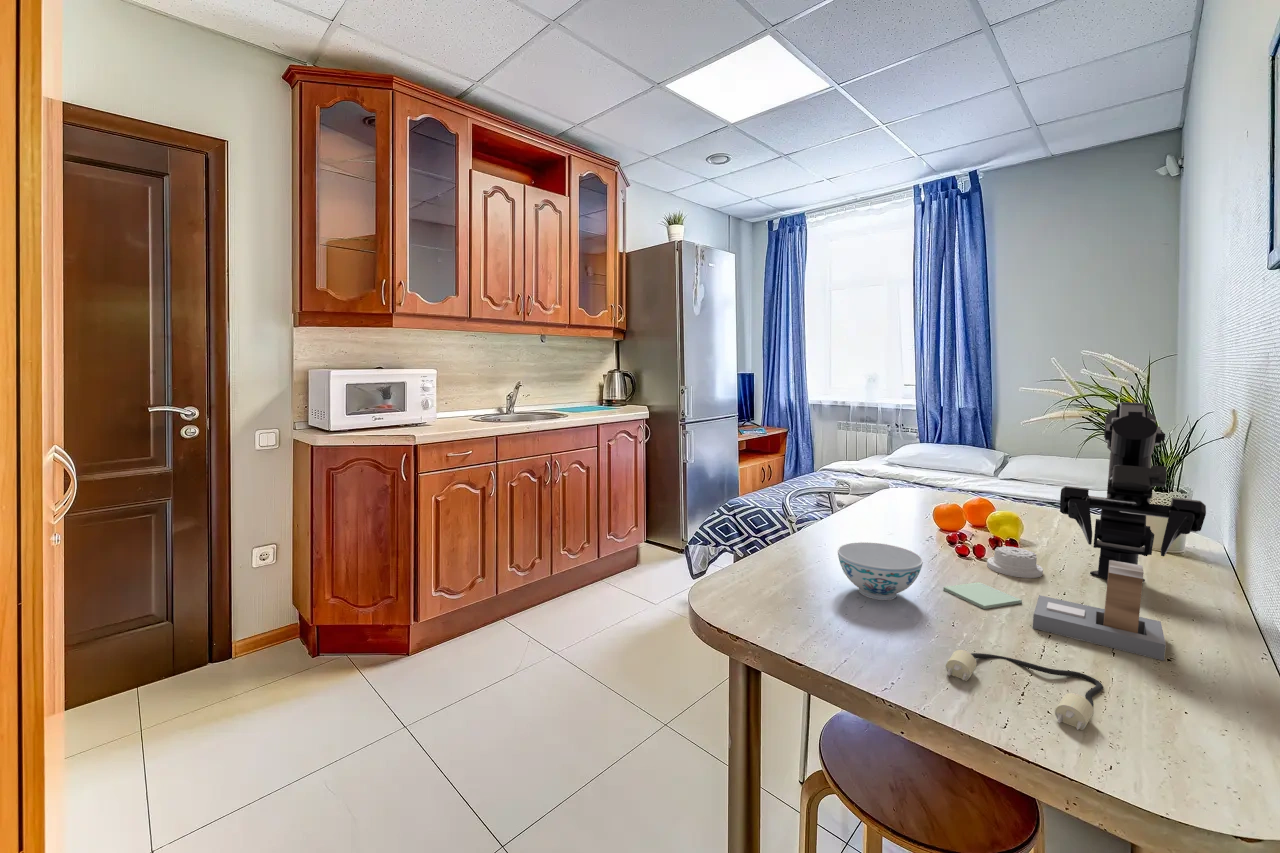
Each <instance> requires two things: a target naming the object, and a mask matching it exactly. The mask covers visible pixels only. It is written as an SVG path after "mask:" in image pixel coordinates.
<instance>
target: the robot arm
mask: <svg viewBox="0 0 1280 853" xmlns="http://www.w3.org/2000/svg"><path fill="white" fill-rule="evenodd" d="M1148 406H1149V404H1148V403H1144V402H1119V403H1116V408H1115V409H1114V410H1112V411H1110V412H1109V413H1107V414H1106V415H1105V422H1104V431H1103V432H1104V434H1103V435H1104V436H1103V438H1104V443H1107V445H1106V447H1107V449H1108V450H1109V451H1110V453H1109V462H1108V463H1109V465H1108V477H1107V490H1106V497H1103V496H1102V497H1101V496H1095V495H1094V496H1093V495H1089V490H1090V488H1088V487H1078V486H1077V487H1076V486H1068V485H1065V486H1063V487H1062V488H1061V490H1060V495H1059V496H1060V500H1059V506H1060V507H1059V512H1060V513H1061V514H1063V515H1067V517H1068V518H1069V519H1073V520H1075V521H1076V522H1077V525H1078V526H1079V527H1080V529H1081V531H1082V533H1083V535H1084V538H1085V540H1086V542H1087V544H1088V545H1091V546H1092V544H1093V548H1095V549H1100V550H1099V552H1100V553H1099V558H1098V567H1097V568H1098V569H1097V570H1091V571H1090V572H1089V574H1090V575H1092V576H1096V577H1098V578H1101V579H1104V580H1107V579H1108V569H1109V560H1113V561H1119V562H1125V563H1130V564H1136V565H1139V563H1138V562H1139V555H1140V556H1144V557H1148V556H1152V553H1153V546H1154V540H1155V534H1154V532H1153V531H1152V529H1151V526H1150V525H1147V516H1148V517H1156V518H1164V519H1167V523H1166V525H1165V531H1164V534H1163V538H1162V544H1161V547H1160V556H1161V557H1165V555H1166V554H1167V552H1168V551H1169V549H1170V548H1171V546H1172V544H1173V543H1174V541H1176V539H1178V537H1180V536H1181V535H1189V534H1190V533H1191V532H1193V533H1194V532H1195V533H1198V532H1201V531H1202V528H1203V525H1204V521H1205V519H1206V515H1207V507H1206V506H1207V505H1206V504H1205V503H1204V502H1203V501H1202V500H1196V499H1187V498H1178V497H1171V502H1170V505H1165V504H1156V503H1151V499H1152V498H1153V487H1159V488H1160V487H1161V488H1165V486H1166V484H1167V475H1168V474H1167V473H1168V472H1167V471H1168V469H1167V466H1164V465H1152V455H1153V453H1154V449H1155V446H1160V444H1161V442H1163V441H1166V433H1164V432H1163V430H1162V429H1161V427H1160V426H1158V425H1157V424H1156V422H1157V417H1156V416H1155V415H1154V414H1152V413H1151V412H1150V411H1149V410H1148ZM1091 508H1093V509H1100V518H1095V523H1094V524H1095V526H1094V536H1093V528H1092V517H1091ZM1092 541H1093V542H1092ZM1145 582H1146V579H1144V578H1143V583H1145Z"/></svg>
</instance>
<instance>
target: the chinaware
mask: <svg viewBox="0 0 1280 853" xmlns="http://www.w3.org/2000/svg"><path fill="white" fill-rule="evenodd" d="M837 558H838V560H839V565H840V567H841V569H842V571H843V573H844V575H845V576H846V578H847V579H848V580H849V581H850V582H851V583H852V584H853V585H854V586H855V587H857V588H858V592H859V594H861V595H862V596H864V597H867V598H868V599H869V598H870V599H873V600H878V601H890V600H894V599H895V598H897V594H900V593H902V592H904V591H905V590H908V589H909V587H911V586H912V585H913V584H914V583H915V581H916V580H917V578H918V577H919V575H920V572H921V570H922V568H923V564H924V560H923V557H921V556H920V555H919V554H918V553H916V552H914V551H912V550H909V549H907V548H904V547H899V546H897V545H891V544H887V543H886V544H885V543H879V542H865V541H864V542H862V541H860V542H850V543H845V544H843V545H841V546H839V547H838V549H837Z"/></svg>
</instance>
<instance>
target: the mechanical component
mask: <svg viewBox="0 0 1280 853" xmlns="http://www.w3.org/2000/svg"><path fill="white" fill-rule="evenodd" d="M1037 561H1038V560H1037V553H1035V552H1033V551H1032V550H1027V549H1026V548H1019V547H1014V546H1008V545H1007V546H1000V547H999V546H997V547H996V548H995V549H994V555H993V556H992V557H989V558H988V559H986V566H987V567H988V568H989V569H990V570H992V571H994V572H996V573H1000V574H1003V575H1006V576H1010V577H1015V578H1016V577H1017V578H1023V579H1035V578H1037V579H1038V578H1040V577H1042V576H1043V573H1044V569H1043V567H1042V566H1041V565H1039V564H1037Z"/></svg>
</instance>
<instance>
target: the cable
mask: <svg viewBox="0 0 1280 853" xmlns="http://www.w3.org/2000/svg"><path fill="white" fill-rule="evenodd" d="M977 659H983V660H987V659H988V660H992V659H996V660H997V659H999V660H1005V661H1008V662H1011V663H1013V664H1015V665H1017V666H1020V667H1024V668H1027V669H1031V670H1033V671H1038V672H1042V673H1045V674H1048V675H1052V676H1053V675H1055V676H1061V677H1062V676H1063V677H1074V678H1077V679H1078V678H1079V679H1082V680H1085V681H1088V682H1090V683H1092V684H1093V685H1094V686H1093V687H1092V688H1090V689H1088V690H1087V691H1086V692H1085V695H1084V696H1082V695H1080V694H1077V693H1074V692H1068V693H1065V695H1063V697H1062V698H1061V700H1060V701H1059V703H1058V705H1057V706H1056V708H1055V709H1054V716H1055V718H1056V720H1057V723H1059V724H1060V723H1064V724H1067V725H1070V726H1071V727H1074V728H1076V730H1081V731H1083V730H1085V728H1087V725H1088V724H1089V721H1090V720H1091V718H1092V716H1093V714H1094V700H1093V697H1094V696H1095V695H1096V694H1098V693H1100V692H1101V691H1103V689H1104V686H1103V684H1102V683H1101V682H1100V680H1098V679H1096V678H1094V677H1092V676H1090V675H1088V674H1085V673H1082V672H1078V671H1075V670H1074V671H1073V670H1066V669H1065V670H1064V669H1054V668H1048V667H1045V666H1042V665H1038V664H1035V663H1031V662H1027V661H1023V660H1020V659H1017V658H1016V659H1015V658H1011V657H1007V656H1002V655H995V654H990V653H988V654H987V653H981V652H980V653H979V652H974V653H973V652H969V651H967V650H965V649H957V650H955V651H953V653H952V654H951V656H950V658H949V659H948V661H947V662H946V664H945V669H946V670H945V671H946V672H947V675H948V676H949V677H950V676H953V677H956V678H959V679H961V680H962V681H966V682H967V681H968V680H969V679H970V678H971V676H972V674H973V673H974V671H975V669H976V667H977Z"/></svg>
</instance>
